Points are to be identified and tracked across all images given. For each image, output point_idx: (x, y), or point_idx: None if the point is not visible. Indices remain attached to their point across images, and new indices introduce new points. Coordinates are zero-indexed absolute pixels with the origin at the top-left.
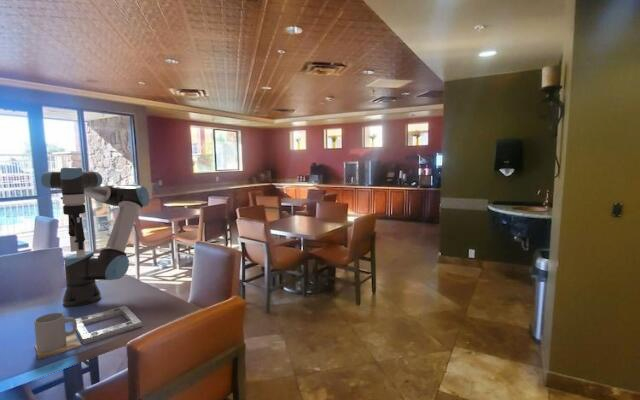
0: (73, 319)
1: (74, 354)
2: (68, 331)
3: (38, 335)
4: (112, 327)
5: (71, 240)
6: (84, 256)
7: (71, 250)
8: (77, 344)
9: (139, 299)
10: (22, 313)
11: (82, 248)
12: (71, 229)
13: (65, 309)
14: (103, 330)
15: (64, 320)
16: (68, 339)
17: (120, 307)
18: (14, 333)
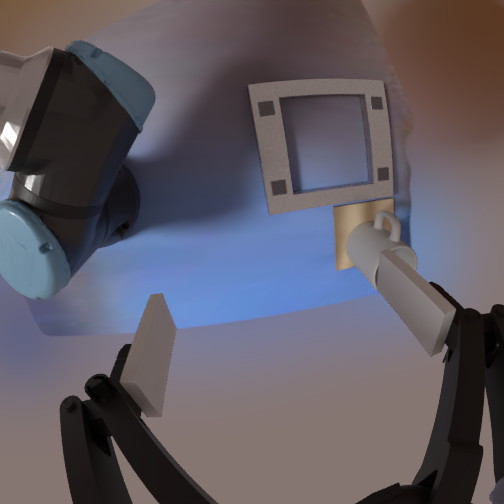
0: (399, 222)
1: (410, 208)
2: (380, 224)
3: None
4: (376, 137)
5: (162, 386)
6: (389, 253)
7: (174, 332)
8: (388, 203)
9: (181, 50)
10: (134, 310)
11: (438, 289)
12: (197, 484)
13: (148, 233)
14: (380, 156)
15: (400, 240)
16: (356, 218)
17: (254, 98)
18: (245, 309)
